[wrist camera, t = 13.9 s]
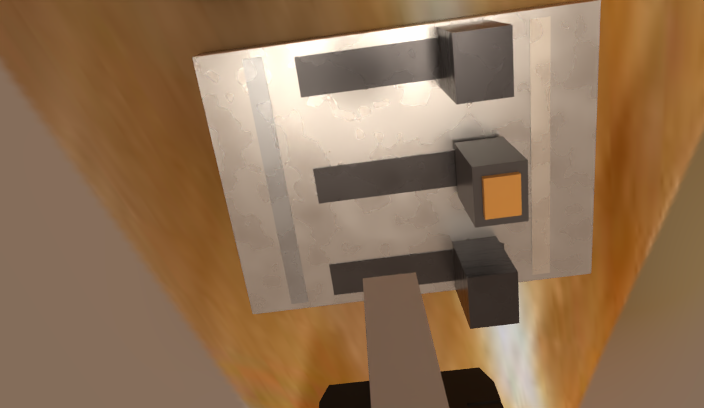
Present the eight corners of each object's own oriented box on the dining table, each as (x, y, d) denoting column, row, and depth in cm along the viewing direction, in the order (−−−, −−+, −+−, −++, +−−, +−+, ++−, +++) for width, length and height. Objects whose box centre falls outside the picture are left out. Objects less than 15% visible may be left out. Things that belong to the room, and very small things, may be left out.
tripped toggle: (454, 142, 34) (473, 169, 29) (502, 136, 33) (530, 162, 28) (457, 196, 35) (476, 230, 30) (504, 190, 35) (530, 223, 30)
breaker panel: (200, 53, 34) (165, 68, 27) (586, -1, 33) (645, 1, 26) (257, 299, 40) (240, 358, 34) (579, 259, 39) (625, 313, 33)
